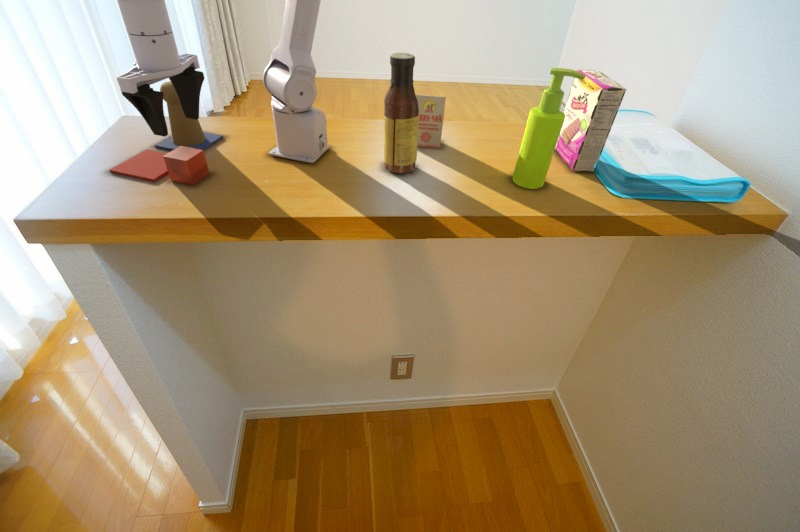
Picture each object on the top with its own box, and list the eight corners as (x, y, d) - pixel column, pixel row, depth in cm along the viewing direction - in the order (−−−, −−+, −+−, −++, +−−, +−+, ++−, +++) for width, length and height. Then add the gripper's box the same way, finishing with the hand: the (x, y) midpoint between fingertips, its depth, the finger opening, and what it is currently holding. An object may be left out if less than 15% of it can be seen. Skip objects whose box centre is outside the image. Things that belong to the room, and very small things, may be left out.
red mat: (188, 159, 77) (188, 157, 77) (154, 181, 70) (153, 179, 70) (147, 151, 79) (146, 149, 78) (109, 172, 72) (109, 169, 72)
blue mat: (223, 137, 85) (222, 135, 85) (195, 155, 79) (194, 153, 78) (185, 130, 87) (184, 128, 87) (154, 147, 80) (154, 145, 80)
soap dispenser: (547, 193, 76) (586, 77, 63) (510, 184, 77) (539, 70, 64) (550, 179, 80) (586, 68, 67) (514, 171, 82) (543, 62, 69)
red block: (209, 173, 74) (203, 149, 71) (193, 185, 70) (186, 161, 67) (187, 169, 74) (180, 145, 72) (170, 180, 71) (162, 156, 68)
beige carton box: (408, 138, 91) (412, 91, 84) (439, 140, 91) (445, 94, 84) (408, 145, 88) (411, 97, 81) (439, 148, 88) (445, 100, 81)
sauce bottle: (420, 165, 81) (431, 54, 68) (407, 178, 77) (416, 63, 64) (390, 157, 83) (395, 48, 70) (376, 169, 79) (378, 56, 66)
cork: (194, 148, 80) (178, 89, 73) (166, 144, 81) (147, 85, 73) (211, 136, 85) (197, 79, 77) (184, 132, 85) (168, 75, 78)
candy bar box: (550, 148, 91) (575, 68, 81) (572, 148, 92) (599, 69, 81) (571, 172, 83) (602, 87, 72) (595, 172, 83) (629, 88, 73)
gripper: (161, 19, 64) (185, 107, 73) (83, 37, 54) (122, 138, 62) (201, 25, 63) (220, 114, 72) (129, 45, 52) (162, 146, 61)
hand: (177, 126), depth 67 cm, fingers open, 7 cm apart
